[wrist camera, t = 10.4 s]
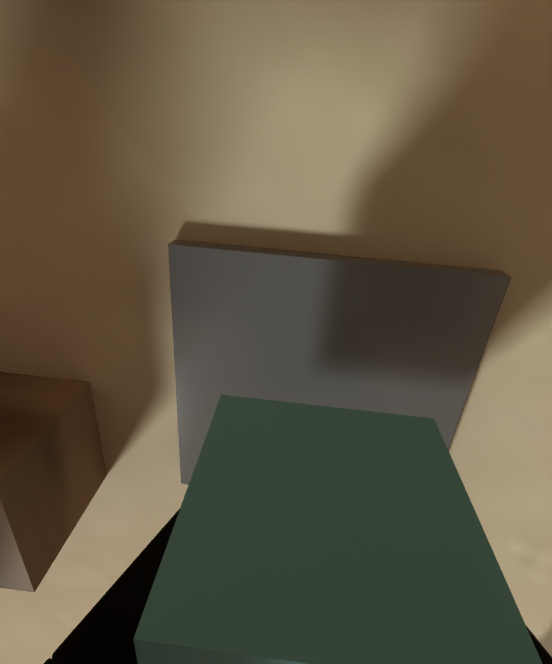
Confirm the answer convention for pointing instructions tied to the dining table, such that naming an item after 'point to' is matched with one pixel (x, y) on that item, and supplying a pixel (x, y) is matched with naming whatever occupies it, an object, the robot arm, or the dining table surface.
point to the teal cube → (328, 548)
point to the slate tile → (324, 333)
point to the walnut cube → (43, 471)
